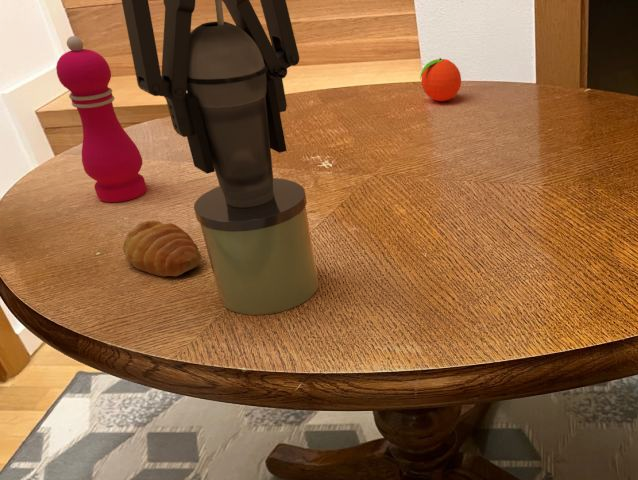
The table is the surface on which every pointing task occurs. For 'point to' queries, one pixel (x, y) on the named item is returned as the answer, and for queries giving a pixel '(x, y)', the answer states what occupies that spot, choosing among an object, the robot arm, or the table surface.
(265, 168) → the beverage cup
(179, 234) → the pastry
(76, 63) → the pepper mill
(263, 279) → the jar
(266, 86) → the robot arm
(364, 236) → the table surface
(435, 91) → the clementine
